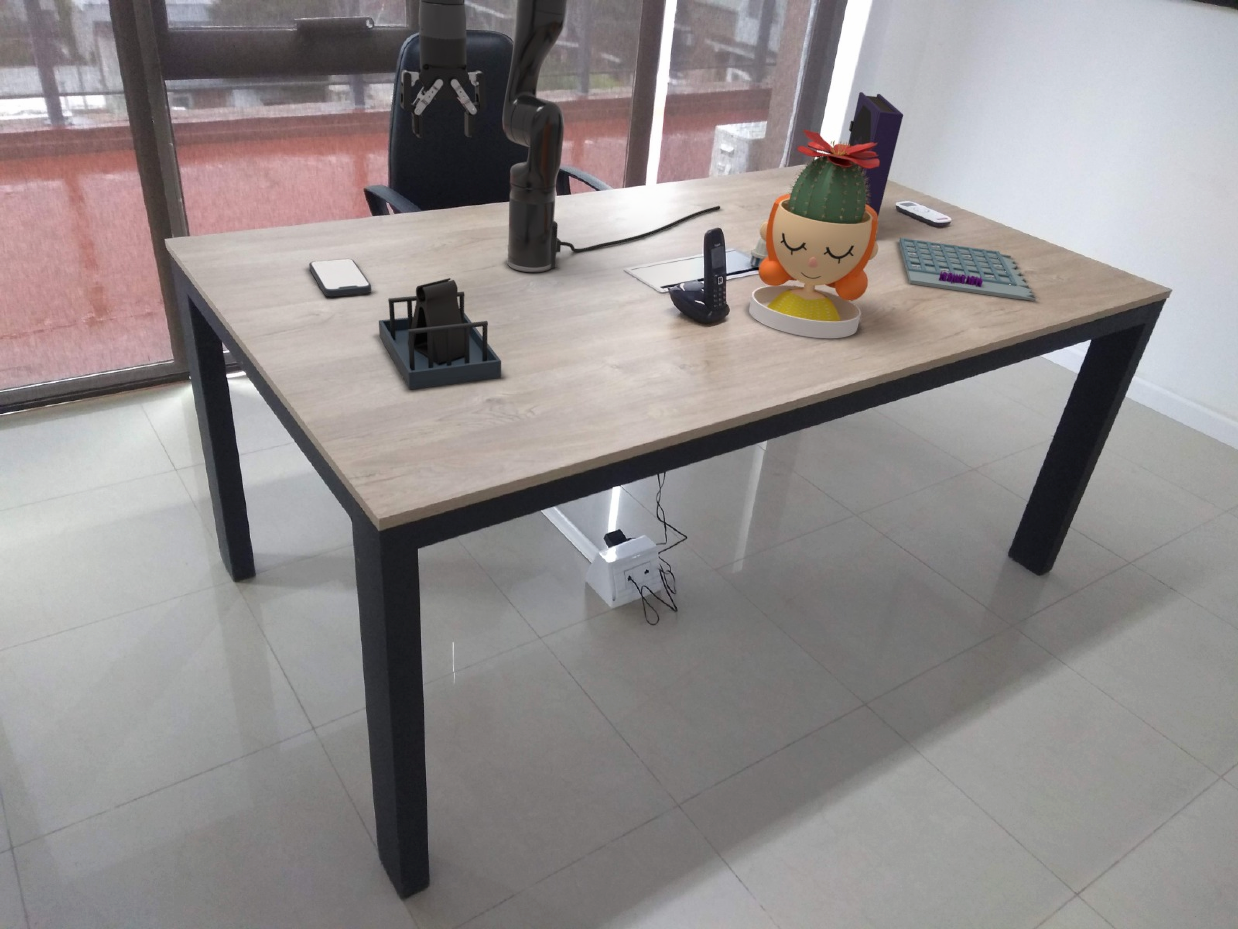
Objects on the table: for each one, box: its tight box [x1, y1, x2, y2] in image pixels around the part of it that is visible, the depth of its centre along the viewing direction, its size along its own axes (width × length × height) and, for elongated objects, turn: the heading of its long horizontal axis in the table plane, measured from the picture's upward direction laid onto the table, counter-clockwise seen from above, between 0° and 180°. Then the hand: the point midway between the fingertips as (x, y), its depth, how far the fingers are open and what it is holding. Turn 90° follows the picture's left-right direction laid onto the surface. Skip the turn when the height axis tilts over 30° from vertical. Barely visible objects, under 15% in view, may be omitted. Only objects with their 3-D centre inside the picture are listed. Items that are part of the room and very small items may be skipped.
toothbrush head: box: [749, 237, 768, 268], centre depth 207 cm, size 5×7×25 cm
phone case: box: [308, 258, 372, 297], centre depth 175 cm, size 9×2×16 cm
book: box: [847, 91, 904, 217], centre depth 227 cm, size 24×6×30 cm, turn 179°
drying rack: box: [378, 291, 502, 390], centre depth 150 cm, size 15×20×8 cm
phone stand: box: [408, 277, 465, 365], centre depth 149 cm, size 9×6×12 cm, turn 44°
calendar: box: [898, 237, 1037, 302], centre depth 212 cm, size 27×29×2 cm
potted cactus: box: [748, 129, 879, 339], centre depth 172 cm, size 22×22×35 cm
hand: (444, 136), depth 156 cm, fingers open, 8 cm apart
